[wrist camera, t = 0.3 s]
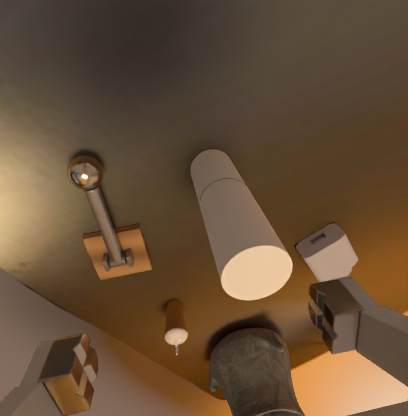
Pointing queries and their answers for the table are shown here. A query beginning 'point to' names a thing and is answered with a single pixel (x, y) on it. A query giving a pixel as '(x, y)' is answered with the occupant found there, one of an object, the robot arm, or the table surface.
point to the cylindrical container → (238, 230)
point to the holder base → (129, 244)
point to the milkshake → (175, 324)
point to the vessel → (254, 373)
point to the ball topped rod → (96, 202)
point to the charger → (328, 253)
